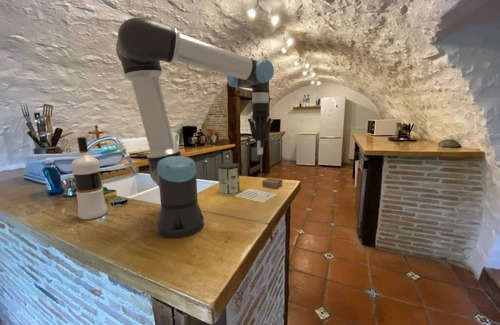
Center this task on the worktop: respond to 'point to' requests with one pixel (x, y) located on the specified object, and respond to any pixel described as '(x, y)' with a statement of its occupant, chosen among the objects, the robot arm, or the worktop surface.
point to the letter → (256, 195)
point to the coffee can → (228, 178)
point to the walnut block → (272, 183)
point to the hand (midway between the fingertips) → (259, 154)
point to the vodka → (88, 184)
